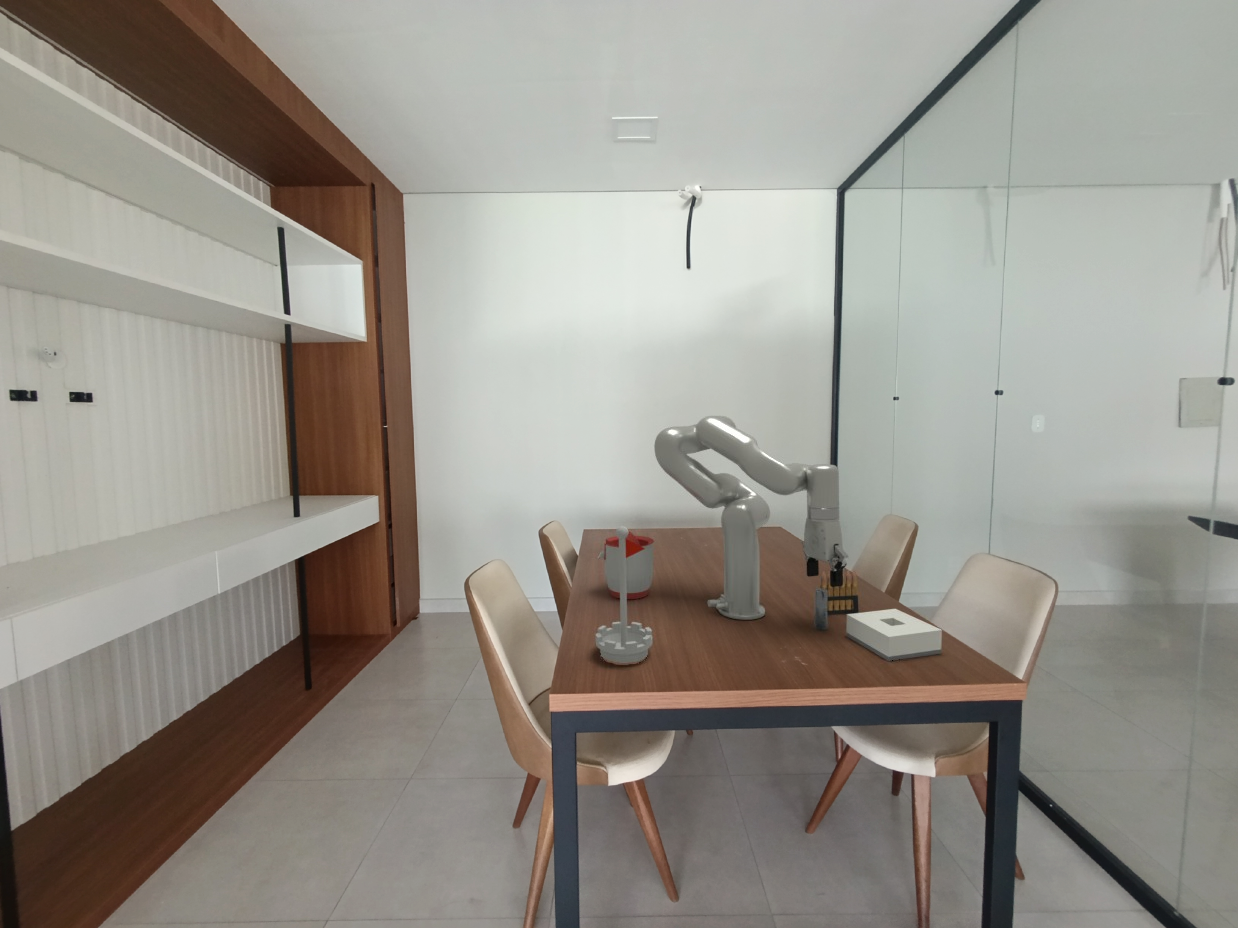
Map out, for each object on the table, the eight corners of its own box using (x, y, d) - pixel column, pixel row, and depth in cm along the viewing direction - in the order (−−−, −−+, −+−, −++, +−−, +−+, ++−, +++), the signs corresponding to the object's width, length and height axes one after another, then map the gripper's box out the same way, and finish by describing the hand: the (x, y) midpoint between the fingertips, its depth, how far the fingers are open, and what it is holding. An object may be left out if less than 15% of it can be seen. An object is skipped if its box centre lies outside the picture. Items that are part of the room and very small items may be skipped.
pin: (819, 631, 131) (819, 592, 131) (812, 626, 134) (812, 588, 133) (829, 629, 132) (830, 591, 131) (822, 625, 135) (822, 587, 134)
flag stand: (591, 666, 115) (588, 531, 112) (601, 641, 127) (598, 520, 125) (650, 669, 113) (648, 532, 110) (654, 643, 126) (652, 520, 123)
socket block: (888, 661, 114) (888, 636, 114) (846, 636, 128) (846, 614, 128) (941, 653, 118) (941, 629, 117) (894, 629, 131) (895, 608, 131)
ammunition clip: (854, 610, 145) (855, 568, 144) (858, 613, 143) (859, 570, 142) (818, 612, 144) (818, 570, 143) (821, 615, 142) (821, 572, 141)
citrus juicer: (600, 586, 171) (599, 526, 169) (653, 586, 170) (653, 525, 168) (596, 602, 155) (595, 536, 153) (655, 602, 154) (654, 536, 153)
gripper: (790, 510, 138) (792, 573, 139) (831, 520, 121) (832, 592, 122) (815, 508, 140) (816, 570, 141) (859, 517, 123) (860, 588, 124)
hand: (824, 580), depth 132 cm, fingers open, 9 cm apart
